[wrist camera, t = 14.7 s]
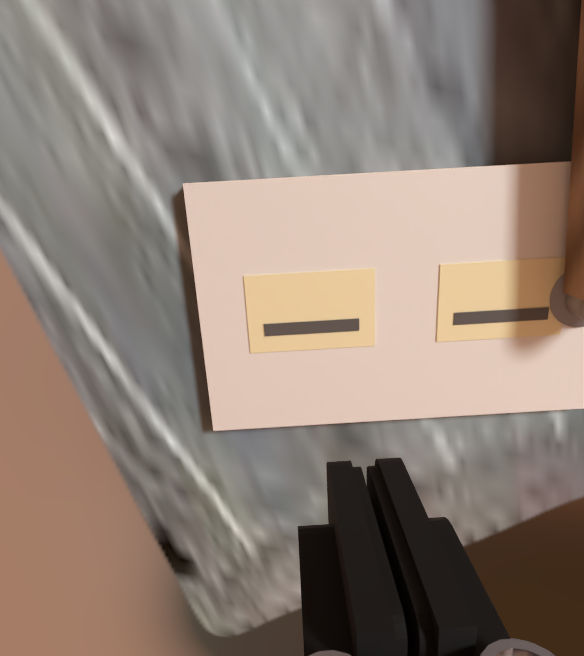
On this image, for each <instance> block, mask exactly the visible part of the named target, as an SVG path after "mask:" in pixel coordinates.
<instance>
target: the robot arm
mask: <svg viewBox="0 0 584 656" xmlns="http://www.w3.org/2000/svg"><path fill="white" fill-rule="evenodd" d="M327 493H328V520H329V524H327V525H311V526H298V538H299V558H300V578H301V598H302V617H303V637H304V656H555V655H553V654H552V653H551V652H549V651H548V650H546V649H544V648H542V647H540V646H537V645H535V644H533V643H531V642H527V641H523V640H518V639H510V637H509V635H508V633H507V631H506V629H505V627H504V625H503V624H502V621H501V619H500V617H499V616H498V614H497V612H496V610H495V608H494V606H493V604H492V602H491V600H490V598H489V596H488V595H487V592H486V591H485V588H484V587H483V585H482V583H481V581H480V579H479V577H478V575H477V573H476V571H475V569H474V567H473V565H472V563H471V561H470V559H469V557H468V556H467V554H466V552H465V550H464V548H463V546H462V544H461V542H460V540H459V538H458V536H457V534H456V532H455V530H454V528H453V526H452V525H451V523H450V522H449V520H448V519H447V518H445V517H439V518H428V516H427V514H426V511H425V509H424V507H423V505H422V503H421V500H420V498H419V496H418V494H417V492H416V489H415V487H414V485H413V483H412V481H411V478H410V476H409V474H408V472H407V470H406V467H405V465H404V463H403V461H402V459H401V458H386V459H376V460H375V466H368V467H367V486H366V483H365V479H364V476H363V472H362V469H361V467H352V463H351V461H337V462H327Z"/></svg>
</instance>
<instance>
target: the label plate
mask: <svg viewBox="0 0 584 656" xmlns="http://www.w3.org/2000/svg"><path fill="white" fill-rule="evenodd" d="M570 175H571V161H568V162H551V163H533V164H516V165H498V166H481V167H463V168H446V169H428V170H411V171H393V172H376V173H358V174H341V175H323V176H306V177H288V178H271V179H253V180H236V181H219V182H201V183H184V184H183V189H184V198H185V206H186V214H187V222H188V230H189V238H190V246H191V254H192V262H193V270H194V278H195V286H196V295H197V303H198V311H199V319H200V327H201V335H202V343H203V351H204V359H205V367H206V375H207V383H208V392H209V400H210V408H211V416H212V424H213V431H220V430H236V429H253V428H269V427H286V426H302V425H318V424H335V423H351V422H368V421H384V420H401V419H417V418H433V417H450V416H466V415H483V414H499V413H516V412H532V411H548V410H565V409H581V408H584V320H582V319H580V318H577V317H575V316H573V315H572V314H571V313H570V312H569V311H568V309H567V307H566V297H567V294H564V293H563V286H564V270H565V254H566V238H567V222H568V207H569V191H570Z"/></svg>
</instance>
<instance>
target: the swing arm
mask: <svg viewBox="0 0 584 656" xmlns="http://www.w3.org/2000/svg"><path fill="white" fill-rule="evenodd" d="M563 293H564V294H567V297H566V307H567V309H568V311H569V312H570V313H571V314H572V315H573V316H575V317H577V318H580V319H582V320H584V0H581V16H580V32H579V48H578V64H577V80H576V95H575V111H574V127H573V143H572V159H571V175H570V191H569V207H568V222H567V238H566V254H565V270H564V286H563Z"/></svg>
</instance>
